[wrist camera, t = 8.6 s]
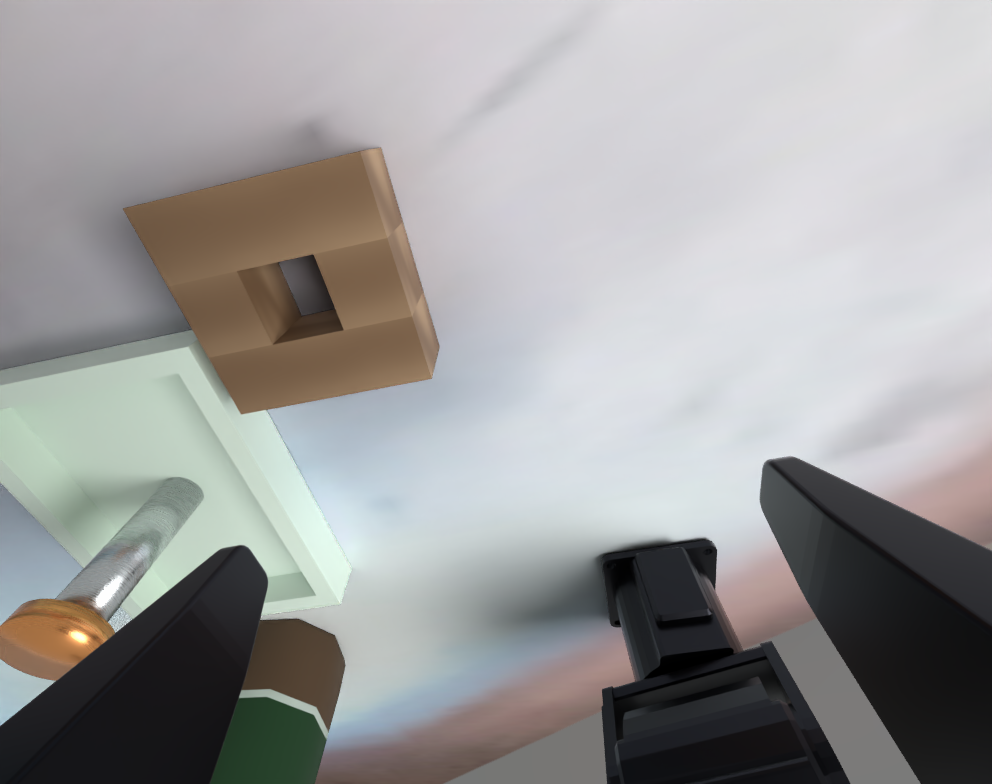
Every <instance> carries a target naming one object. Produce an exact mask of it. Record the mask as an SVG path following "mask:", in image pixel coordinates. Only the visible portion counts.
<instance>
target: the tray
mask: <svg viewBox="0 0 992 784" xmlns="http://www.w3.org/2000/svg"><path fill="white" fill-rule="evenodd" d="M172 477H182V478H186V479H189V480H191V481H193V482H194V483H196V484H197V485H198V486H199V487H200V488H201V489H202V491H203V494H204V499H203V501H202V502H201V504H200V505H199V506H198V507H197V509H196V510H195V511H194V512H193V514H192V515H191V516H190V518H189V519H188V520H187V521H186V523H185V524H184V525H183V526H182V528H181V529H180V530H179V532H178V533H177V534H176V535H175V537H174V538H173V539H172V541H171V542H170V543H169V544H168V546H167V547H166V548H165V549H164V551H163V552H162V553H161V555H160V556H159V557H158V558H157V560H156V561H155V562H154V564H153V565H152V566H151V567H150V569H149V570H148V571H147V572H146V574H145V575H144V576H143V578H142V579H141V580H140V581H139V583H138V584H137V585H136V586H135V588H134V589H133V590H132V592H131V593H130V594H129V595H128V597H127V598H126V599H125V601H124V602H123V603H122V604H121V607H122V608H123V609H124V610H125V611H126V613H127V614H128V615H129V616H130V617H131V618H132V619H134V618H135V617H136V616H137V615H139V614H140V613H141V612H142V611H144V610H145V609H146V608H147V607H149V606H150V605H151V604H152V603H153V602H155V601H156V600H157V599H158V598H160V597H161V596H162V595H163V594H165V593H166V592H167V591H168V590H170V589H171V588H172V587H173V586H175V585H176V584H177V583H178V582H179V581H181V580H182V579H183V578H184V577H186V576H187V575H188V574H189V573H191V572H192V571H193V570H194V569H196V568H197V567H198V566H199V565H201V564H202V563H203V562H204V561H205V560H207V559H208V558H209V557H210V556H212V555H213V554H214V553H215V552H217V551H218V550H220V549H222V548H225V547H231V546H237V545H245V546H247V547H248V548H249V549H250V550H251V551H252V553H253V554H254V556H255V557H256V559H257V560H258V562H259V563H260V564H261V566H262V567H263V569H264V570H265V572H266V574H267V577H268V589H267V593H266V597H265V601H264V606H263V610H262V614H261V616H262V615H269V614H277V613H284V612H291V611H298V610H305V609H312V608H319V607H326V606H333V605H340V604H341V601H342V598H343V595H344V592H345V589H346V586H347V583H348V579H349V576H350V573H351V570H352V568H351V566H350V564H349V562H348V560H347V558H346V557H345V555H344V553H343V551H342V549H341V547H340V545H339V544H338V542H337V540H336V538H335V536H334V534H333V533H332V531H331V529H330V527H329V525H328V523H327V521H326V520H325V518H324V516H323V514H322V512H321V510H320V508H319V507H318V505H317V503H316V501H315V499H314V497H313V495H312V494H311V492H310V490H309V488H308V486H307V484H306V482H305V481H304V479H303V477H302V475H301V473H300V471H299V470H298V468H297V466H296V464H295V462H294V460H293V458H292V457H291V455H290V453H289V451H288V449H287V447H286V445H285V444H284V442H283V440H282V438H281V436H280V434H279V432H278V431H277V429H276V427H275V425H274V423H273V421H272V419H271V418H270V416H269V414H268V412H267V410H263V411H258V412H252V413H247V414H242V415H241V413H240V412H239V410H238V408H237V406H236V405H235V403H234V401H233V399H232V398H231V396H230V394H229V393H228V391H227V389H226V387H225V386H224V384H223V382H222V380H221V379H220V377H219V375H218V373H217V372H216V370H215V368H214V366H213V365H212V363H211V361H210V360H209V358H208V356H207V354H206V353H205V351H204V349H203V347H202V346H201V344H200V342H199V340H198V339H197V337H196V335H195V333H194V332H193V330H188V331H184V332H179V333H174V334H169V335H165V336H160V337H155V338H150V339H146V340H141V341H136V342H131V343H127V344H122V345H117V346H112V347H108V348H103V349H98V350H93V351H89V352H84V353H79V354H74V355H70V356H65V357H60V358H55V359H51V360H46V361H41V362H36V363H32V364H27V365H22V366H17V367H13V368H8V369H3V370H0V483H1V484H2V485H3V486H4V487H5V488H6V489H7V490H8V491H9V492H10V493H11V494H12V495H13V496H14V497H15V498H16V499H17V500H18V501H19V502H20V503H21V504H22V505H23V506H24V507H25V508H26V509H27V511H28V512H29V513H30V514H31V515H32V516H33V517H34V518H35V519H36V520H37V521H38V522H39V523H40V524H41V525H42V526H43V527H44V528H45V529H46V530H47V531H48V532H49V533H50V534H51V535H52V536H53V537H54V538H55V539H56V540H57V541H58V542H59V543H60V545H61V546H62V547H63V548H64V549H65V550H66V551H67V552H68V553H69V554H70V555H71V556H72V557H73V558H74V559H75V560H76V561H77V562H78V563H79V564H80V565H81V566H82V567H83V568H85V566H86V565H87V564H88V563H89V562H90V561H91V560H92V559H93V558H94V557H95V556H96V555H97V554H98V553H99V552H100V550H101V549H102V548H103V547H104V546H105V545H106V544H107V543H108V542H109V541H110V540H111V539H112V538H113V537H114V535H115V534H116V533H117V532H118V531H119V530H120V529H121V528H122V527H123V526H124V525H125V524H126V523H127V522H128V520H129V519H130V518H131V517H132V516H133V515H134V514H135V513H136V512H137V511H138V510H139V509H140V508H141V507H142V505H143V504H144V503H145V502H146V501H147V500H148V499H149V498H150V497H151V496H152V495H153V494H154V493H155V492H156V491H157V489H158V488H159V487H160V486H161V485H162V484H163V483H164V482H165V481H166V480H167V479H169V478H172Z"/></svg>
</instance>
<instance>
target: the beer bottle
mask: <svg viewBox="0 0 992 784" xmlns="http://www.w3.org/2000/svg"><path fill="white" fill-rule="evenodd" d="M344 669H345V661H344V657H343V655H342V652H341V650H340V647H339V645H338V642H337V640H336V637H335V635H332V634H330V633H328V632H326V631H324V630H322V629H319V628H317V627H315V626H313V625H311V624H308V623H306V622H304V621H302V620H300V619H287V620H265V621H260V622H259V626H258V631H257V635H256V639H255V643H254V647H253V651H252V656H251V660H250V663H249V667H248V671H247V675H246V678H245V681H244V684H243V687H242V691H241V694H240V696H239V699H238V702H237V705H236V708H235V711H234V714H233V717H232V720H231V723H230V726H229V729H228V732H227V735H226V738H225V741H224V744H223V747H222V750H221V753H220V756H219V759H218V762H217V765H216V768H215V770H214V773H213V776H212V779H211V782H210V784H315V780H316V777H317V773H318V769H319V766H320V762H321V758H322V755H323V751H324V747H325V744H326V740H327V736H328V733H329V729H330V725H331V722H332V718H333V714H334V711H335V707H336V703H337V700H338V696H339V692H340V688H341V683H342V678H343V674H344Z"/></svg>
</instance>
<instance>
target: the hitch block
mask: <svg viewBox="0 0 992 784" xmlns="http://www.w3.org/2000/svg"><path fill="white" fill-rule="evenodd" d="M123 210H124V212H125V213H126V215H127V217H128V219H129V220H130V222H131V224H132V226H133V227H134V229H135V231H136V233H137V234H138V236H139V238H140V240H141V241H142V243H143V245H144V247H145V248H146V250H147V252H148V253H149V255H150V257H151V259H152V260H153V262H154V264H155V266H156V267H157V269H158V271H159V273H160V274H161V276H162V278H163V280H164V281H165V283H166V285H167V287H168V288H169V290H170V292H171V293H172V295H173V297H174V299H175V300H176V302H177V304H178V306H179V307H180V309H181V311H182V313H183V314H184V316H185V318H186V320H187V321H188V323H189V325H190V326H191V328H192V330H193V332H194V333H195V335H196V337H197V339H198V340H199V342H200V344H201V346H202V347H203V349H204V351H205V353H206V354H207V356H208V358H209V360H210V361H211V363H212V365H213V366H214V368H215V370H216V372H217V373H218V375H219V377H220V379H221V380H222V382H223V384H224V386H225V387H226V389H227V391H228V393H229V394H230V396H231V398H232V399H233V401H234V403H235V405H236V406H237V408H238V410H239V412H240V413H241V415H242V414H247V413H252V412H258V411H263V410H268V409H273V408H279V407H284V406H289V405H295V404H300V403H305V402H311V401H316V400H321V399H326V398H332V397H337V396H342V395H348V394H353V393H358V392H364V391H369V390H374V389H379V388H385V387H390V386H395V385H401V384H406V383H411V382H417V381H422V380H427V379H432V375H433V371H434V367H435V363H436V359H437V355H438V351H439V343H438V340H437V336H436V333H435V330H434V326H433V323H432V319H431V316H430V313H429V309H428V306H427V302H426V299H425V296H424V292H423V289H422V285H421V282H420V279H419V275H418V272H417V268H416V265H415V262H414V258H413V255H412V251H411V248H410V245H409V241H408V238H407V234H406V231H405V228H404V224H403V221H402V217H401V214H400V211H399V207H398V204H397V200H396V197H395V194H394V190H393V187H392V183H391V180H390V177H389V173H388V170H387V166H386V163H385V160H384V156H383V153H382V149H381V148H376V149H370V150H364V151H359V152H354V153H350V154H346V155H342V156H338V157H334V158H330V159H326V160H321V161H317V162H313V163H309V164H305V165H301V166H297V167H293V168H288V169H284V170H280V171H276V172H272V173H268V174H264V175H259V176H255V177H251V178H247V179H243V180H239V181H235V182H231V183H226V184H222V185H218V186H214V187H210V188H206V189H202V190H198V191H193V192H189V193H185V194H181V195H177V196H173V197H169V198H165V199H160V200H156V201H152V202H148V203H144V204H140V205H136V206H132V207H127V208H123ZM312 254H314V257H315V259H316V262H317V264H318V267H319V269H320V272H321V274H322V277H323V279H324V282H325V284H326V287H327V289H328V292H329V294H330V297H331V299H332V302H333V304H334V307H335V309H334V310H329V311H324V312H320V313H315V314H310V315H305V316H301V313H300V311H299V309H298V306H297V304H296V302H295V300H294V297H293V295H292V293H291V291H290V288H289V286H288V284H287V282H286V279H285V277H284V275H283V272H282V270H281V268H280V266H279V263H278V262H281V261H285V260H290V259H294V258H299V257H303V256H308V255H312Z"/></svg>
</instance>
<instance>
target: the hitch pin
mask: <svg viewBox="0 0 992 784" xmlns="http://www.w3.org/2000/svg"><path fill="white" fill-rule="evenodd" d="M203 499H204V494H203V491H202V489H201V488H200V487H199V486H198V485H197V484H196V483H194V482H193V481H191V480H189V479H186V478H182V477H172V478H169V479H167V480H166V481H165V482H164V483H163V484H162V485H161V486H160V487H159V488H158V489H157V491H156V492H155V493H154V494H153V495H152V496H151V497H150V498H149V499H148V500H147V501H146V502H145V503H144V504H143V505H142V507H141V508H140V509H139V510H138V511H137V512H136V513H135V514H134V515H133V516H132V517H131V518H130V519H129V520H128V522H127V523H126V524H125V525H124V526H123V527H122V528H121V529H120V530H119V531H118V532H117V533H116V534H115V535H114V537H113V538H112V539H111V540H110V541H109V542H108V543H107V544H106V545H105V546H104V547H103V548H102V549H101V550H100V552H99V553H98V554H97V555H96V556H95V557H94V558H93V559H92V560H91V561H90V562H89V563H88V564H87V565H86V566H85V568H84V569H83V570H82V571H81V572H80V573H79V574H78V575H77V576H76V577H75V578H74V579H73V580H72V581H71V583H70V584H69V585H68V586H67V587H66V588H65V589H64V590H63V591H62V592H61V593H60V594H59V595H58V596H57V598H56V599H37V600H32V601H28V602H26V603H24V604H22V605H21V606H20V607H19V608H18V609H17V610H16V611H15V612H14V613H13V614H12V615H11V616H10V617H9V618H8V619H7V620H6V621H5V622H4V623H3V624H2V625H1V626H0V659H1V660H3V661H4V662H5V663H7V664H8V665H10V666H12V667H13V668H15V669H17V670H19V671H22V672H24V673H27V674H29V675H32V676H36V677H39V678H43V679H48V680H55V681H57V680H58V679H59V678H61V677H62V676H63V675H64V674H65V673H67V672H68V671H69V670H70V669H72V668H73V667H74V666H75V665H77V664H78V663H79V662H80V661H82V660H83V659H84V658H85V657H87V656H88V655H89V654H90V653H92V652H93V651H94V650H95V649H96V648H98V647H99V646H100V645H101V644H103V643H104V642H105V641H106V640H108V639H109V638H110V637H111V636H113V635H114V634H115V632H114V629H113V628H112V627H111V625H110V624H109V623H108V621H109V620H110V618H111V617H112V616H113V615H114V613H115V612H116V611H117V609H118V608H119V607H120V606H121V604H122V603H123V602H124V601H125V599H126V598H127V597H128V595H129V594H130V593H131V592H132V590H133V589H134V588H135V586H136V585H137V584H138V583H139V581H140V580H141V579H142V578H143V576H144V575H145V574H146V572H147V571H148V570H149V569H150V567H151V566H152V565H153V564H154V562H155V561H156V560H157V558H158V557H159V556H160V555H161V553H162V552H163V551H164V549H165V548H166V547H167V546H168V544H169V543H170V542H171V541H172V539H173V538H174V537H175V535H176V534H177V533H178V532H179V530H180V529H181V528H182V526H183V525H184V524H185V523H186V521H187V520H188V519H189V518H190V516H191V515H192V514H193V512H194V511H195V510H196V509H197V507H198V506H199V505H200V504H201V502H202V501H203Z"/></svg>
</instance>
